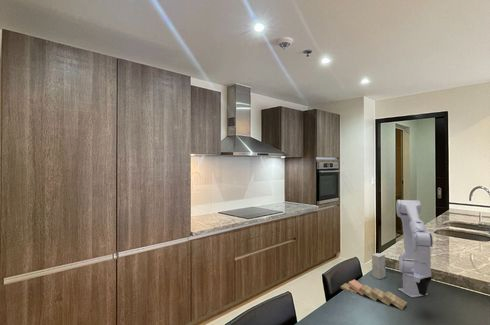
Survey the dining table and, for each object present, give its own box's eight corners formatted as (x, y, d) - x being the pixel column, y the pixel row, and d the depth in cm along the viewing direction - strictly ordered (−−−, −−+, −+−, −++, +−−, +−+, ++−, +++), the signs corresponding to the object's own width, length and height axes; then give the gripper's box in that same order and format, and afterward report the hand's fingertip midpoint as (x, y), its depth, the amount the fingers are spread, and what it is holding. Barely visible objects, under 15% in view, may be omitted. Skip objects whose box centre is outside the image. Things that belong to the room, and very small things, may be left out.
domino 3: (381, 294, 124) (364, 284, 130) (376, 298, 121) (359, 287, 127) (380, 297, 125) (363, 286, 130) (375, 301, 121) (358, 290, 127)
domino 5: (406, 302, 117) (387, 290, 122) (403, 306, 114) (384, 294, 119) (405, 305, 117) (386, 293, 123) (402, 310, 114) (383, 298, 119)
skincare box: (379, 279, 143) (379, 257, 142) (371, 276, 146) (371, 254, 146) (386, 276, 146) (385, 254, 146) (378, 273, 150) (377, 252, 150)
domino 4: (393, 298, 121) (375, 287, 126) (390, 302, 117) (371, 291, 122) (392, 301, 121) (374, 290, 126) (389, 305, 117) (370, 294, 123)
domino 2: (369, 289, 129) (354, 279, 135) (363, 292, 126) (348, 281, 132) (368, 292, 129) (353, 282, 135) (362, 295, 126) (347, 284, 132)
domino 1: (361, 288, 131) (345, 283, 137) (356, 292, 128) (340, 286, 134) (361, 291, 131) (345, 286, 137) (356, 295, 128) (340, 289, 134)
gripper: (417, 254, 118) (417, 285, 118) (404, 263, 109) (405, 296, 109) (436, 258, 113) (436, 291, 113) (425, 268, 103) (425, 303, 104)
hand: (422, 294), depth 111 cm, fingers closed
